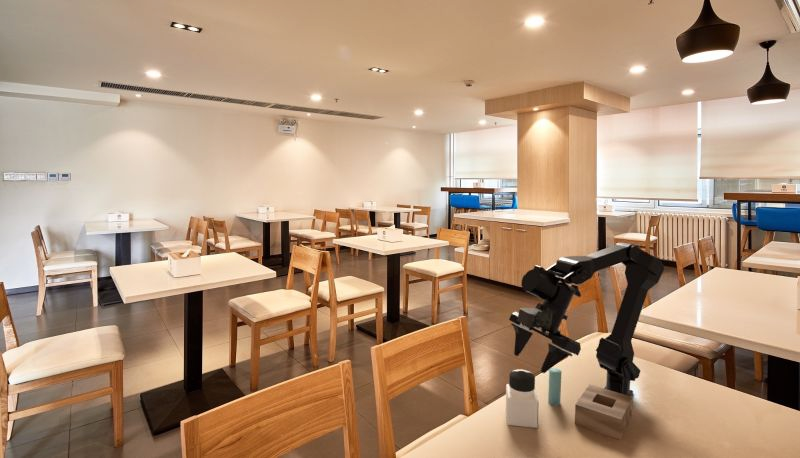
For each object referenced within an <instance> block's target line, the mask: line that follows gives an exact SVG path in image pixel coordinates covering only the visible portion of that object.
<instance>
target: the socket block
mask: <svg viewBox="0 0 800 458" xmlns="http://www.w3.org/2000/svg"><path fill="white" fill-rule="evenodd" d="M604 388H605V387H604ZM604 388H603V387H601V386H596V385H593V384H590V383H589V384H588V386H587V387H586V388H585V390H584V391H583V393H582V394H581V396H580V397H579V399H578V400H577V401H576V403H575V406H574V424H575V425H578V426H581V427H584V428H586V429H590V430H592V431H594V432H596V433H600V434H603V435H605V436H608V437H611V438H614V439H617V440H620V441H621V440H622V437H623V434H624V433H625V430H626V428H627V426H628V425H629V421H630V419H631V417H632V411H633V410H632V409H633V408H632V407H633V396H628V395H624V394H621V393H617V392H614V391H611V390H607V389H604Z"/></svg>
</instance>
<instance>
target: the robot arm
mask: <svg viewBox="0 0 800 458" xmlns="http://www.w3.org/2000/svg"><path fill="white" fill-rule="evenodd" d="M618 264H622V265H624V267H625V269H624V270H625V271H624V276H625V279H626V284H627V285H626V288H625V291H624V294H623V297H622V300H621V303H620V305H619V309H618V312H617V315H616V318H615V321H614V325H613V326H612V330H611V333H610V334H609V335H608V336H606V337H605V338H604V337H601V338H600V339H599V343H598V345H597V347H596V349H595V352H596V354H595V357H596V359H597V362H598V364H599V367H600V368H601V369H604V370H605V371H606V382H605V387H604V389H607V390H611V391H614V392H617V393H621V394H624V395H628V396H631V397H633V394H634V391H633V390H632V389H631V382H635V381H636V379H638V378H639V377H640V374H641V369H640V368H639V367H638V366H637V365H636V364H635V363H634V361H633V360H634V359H635V358H634V357H635V351H634V348H633V343H632V339H633V337H634V333H635V331H636V328H637V325H638V322H639V318H640V316H641V313H642V310H643V307H644V304H645V301H646V297H647V295H648V292H649V291H650V290H651V289H652V288H653V287H655V285H657V284H658V283H659V281H660V279H661V276H662V275H663V273H664V270H665V265H664V264H663V261H662V260H661V258H659V257H656V256H654V255H652V254H650V253H648V252H647V251H645V250H643V249H641V248H640V247H639V246H637V245H636V244H634V243H629V242H617V243H615V245H612V246H609V247H606V248H604V249H601V250H598V251H597V250H596V251H595V252H592V253H588V254H585V255H569V256H563V257H562V256H561V257H560V258H558V259H557V260H556V262H555V263H554V264H552V265H550V266H549V267H548V268H546V269H545V268H544V267H542V266H540V265H534V267H533V269H530V270H528V271H527V272H526V273H525V274H523V276H522V278H521V283H520V284H521V288H522V289H523V290H524V291H525V292H526V293H529V294H531V295H533V296H535V297H537V298H538V299H541V300H543V301H542V303H540V302H538V303H536V306H535V307H534V308H533V307H519V310H518V312H517V311H513V312H512V313H511V314H510V316H509V319H508V321H510V322H511V323H510V325H511V326H512V327H513V330H514V332H515V333H514V334H515V341H514V353H513V355H514V356H516V357H518V356H520V354H521V352H523V350H524V348H525V347H526V345H527V344H528V343H529V340H530V339H531V337H532V336H533V335H534V333H533V332H531V331H534V332H536V333H537V334H538V335H539V334H540V335H541V336H543V337H545V338H547V339H549V340H551V343H547V345H548V352H547V354H546V356H545V358H544V361H543V363H542V366H541V369H540V372H541V373H542V374H545V373H547V372H549V369H551V368H554V366H556V365H557V364H558V363H559V362H561V361H563V360H564V359H565V358H568V357H569V356H570V357H573V354H574V355H576V356H579V354H580V352H581V351H582V349H581V343H580V342H578V341H577V340H574V339H572V338H570V337H569V336H566V335H564V334H562V333H561V331H560V330H559V329H560V326H561V324H562V321H563V320H565V321H567V319H568V317H569V316H568V315H566V312H567V310H568V309H569V306H570V304H571V302H572V299H573V297H574V296H576V297H578V298H581V297H582V294H581V292H580V289H579V285H582V284H584V283H586V282H587V281H589V280H591V279H592V278H593V276H594V275H595V273H597V272H599V271H602V270H605V269H607V268H611V267H613V266H616V265H618Z"/></svg>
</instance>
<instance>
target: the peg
mask: <svg viewBox="0 0 800 458" xmlns="http://www.w3.org/2000/svg"><path fill="white" fill-rule="evenodd" d="M561 392H562V370H561V369H559V368H557V367H555V368H554V367H552V368H550V369H549V370H548V395H547V396H548V404H549V405H551V406H554V407H559V406H561V396H562V395H561Z"/></svg>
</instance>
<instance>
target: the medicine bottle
mask: <svg viewBox="0 0 800 458" xmlns="http://www.w3.org/2000/svg"><path fill="white" fill-rule="evenodd" d="M508 378H509V382H508V383H507V384H506V385H505V413H506V424H507V425H508V426H514V427H523V428H532V429H533V428H534V429H537V428H539V402H540V401H539V398H538V394H537V390H536V387H535V386H536V377H535V375H534V373H532V372H531V371H528V370H526V369H514V370H512V371H510V373H509V377H508Z"/></svg>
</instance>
